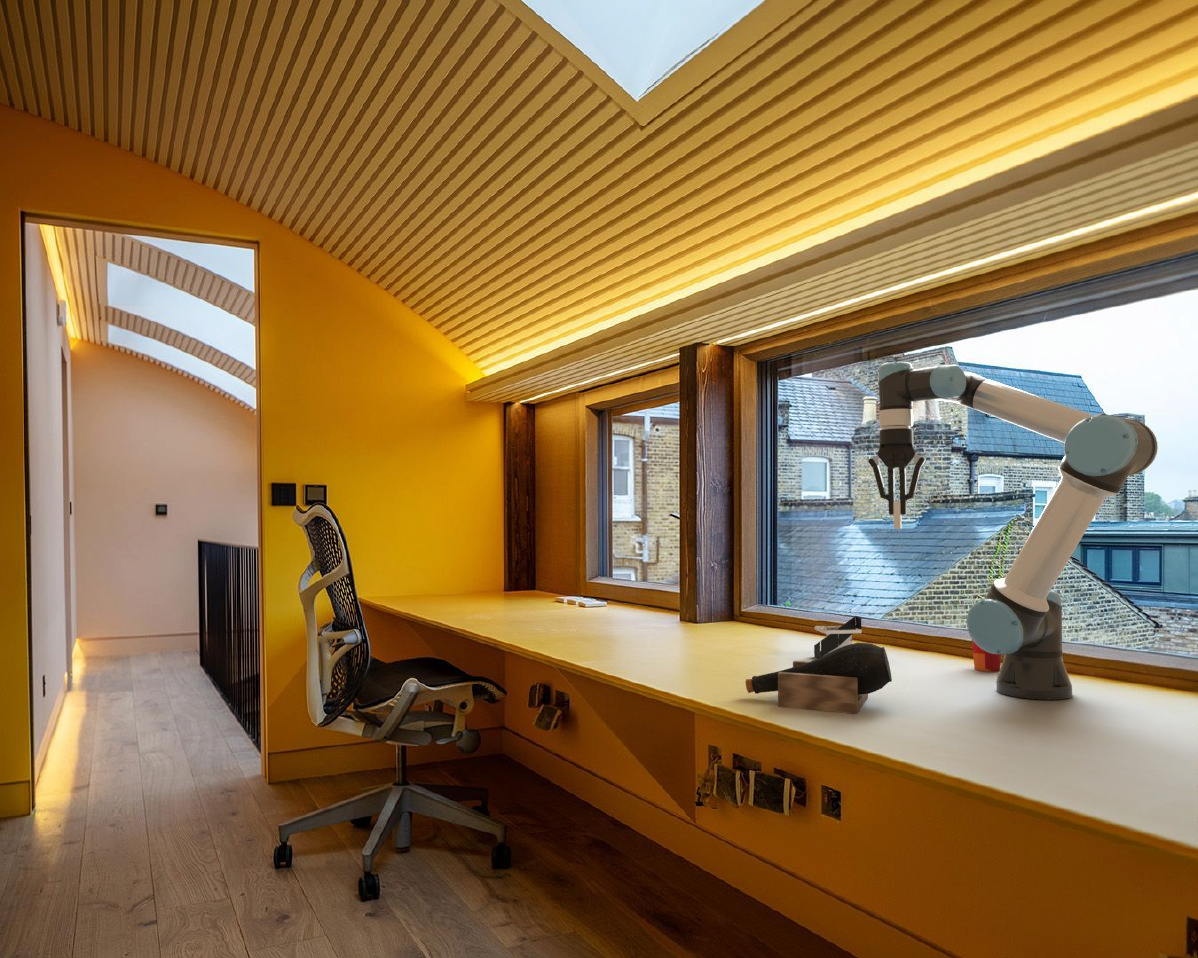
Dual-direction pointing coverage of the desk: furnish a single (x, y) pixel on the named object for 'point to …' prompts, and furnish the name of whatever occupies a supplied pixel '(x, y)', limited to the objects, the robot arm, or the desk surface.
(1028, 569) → the robot arm
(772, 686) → the bottle
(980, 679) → the desk surface
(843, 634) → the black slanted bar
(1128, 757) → the desk surface
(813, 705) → the cradle
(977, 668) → the coffee cup
